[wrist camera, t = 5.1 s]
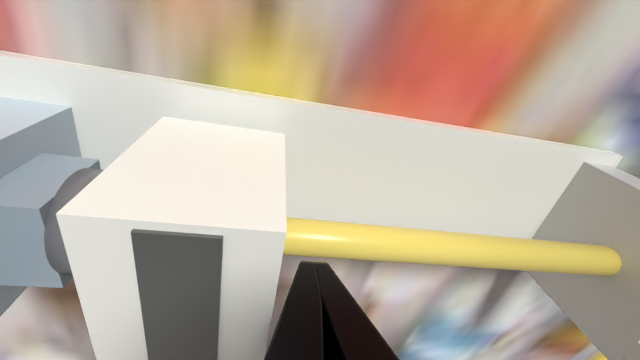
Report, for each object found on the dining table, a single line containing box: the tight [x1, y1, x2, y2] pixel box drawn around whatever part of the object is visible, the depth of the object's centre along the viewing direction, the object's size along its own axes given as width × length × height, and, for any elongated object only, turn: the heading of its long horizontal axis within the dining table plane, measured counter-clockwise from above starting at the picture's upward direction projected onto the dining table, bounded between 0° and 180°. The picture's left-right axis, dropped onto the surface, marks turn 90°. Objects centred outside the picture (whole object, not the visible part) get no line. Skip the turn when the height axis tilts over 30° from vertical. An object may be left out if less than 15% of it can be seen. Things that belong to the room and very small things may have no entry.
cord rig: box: [0, 50, 640, 360], centre depth 10 cm, size 25×7×7 cm, turn 79°
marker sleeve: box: [56, 117, 287, 360], centre depth 9 cm, size 4×5×6 cm
